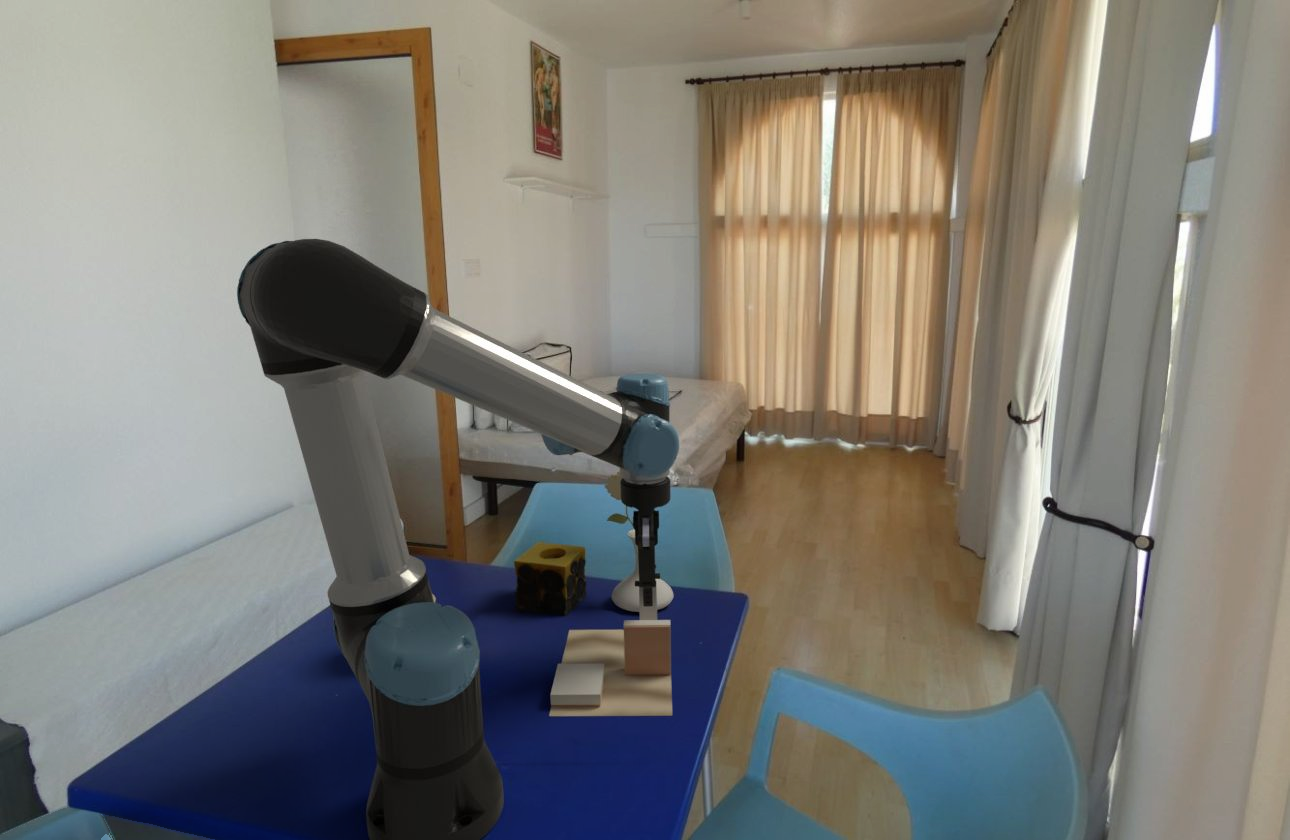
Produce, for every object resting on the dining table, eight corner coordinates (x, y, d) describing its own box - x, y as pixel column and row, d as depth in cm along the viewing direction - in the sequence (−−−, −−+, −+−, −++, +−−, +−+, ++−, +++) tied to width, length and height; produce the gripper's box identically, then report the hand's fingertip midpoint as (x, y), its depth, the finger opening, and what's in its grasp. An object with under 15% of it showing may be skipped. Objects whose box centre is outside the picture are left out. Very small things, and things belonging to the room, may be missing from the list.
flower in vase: (683, 597, 137) (683, 468, 132) (656, 624, 127) (654, 486, 122) (623, 584, 143) (619, 460, 138) (592, 608, 133) (587, 476, 128)
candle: (514, 613, 132) (511, 561, 130) (538, 589, 142) (535, 540, 139) (567, 620, 129) (564, 567, 127) (587, 595, 139) (586, 545, 136)
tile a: (604, 675, 111) (600, 707, 103) (558, 675, 111) (551, 707, 103) (604, 663, 110) (600, 694, 102) (557, 663, 110) (550, 694, 102)
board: (672, 719, 101) (672, 715, 101) (549, 720, 101) (549, 716, 101) (669, 632, 124) (669, 629, 124) (569, 633, 124) (569, 629, 124)
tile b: (671, 675, 110) (670, 626, 109) (624, 675, 110) (623, 626, 109) (670, 667, 112) (670, 619, 111) (625, 668, 112) (624, 620, 111)
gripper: (671, 490, 104) (673, 642, 109) (669, 464, 116) (671, 601, 121) (617, 491, 104) (622, 642, 109) (622, 465, 116) (626, 602, 122)
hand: (648, 620), depth 115 cm, fingers closed
